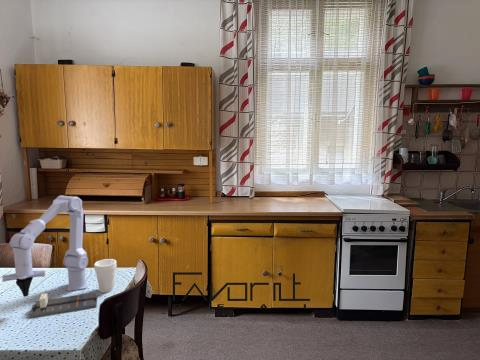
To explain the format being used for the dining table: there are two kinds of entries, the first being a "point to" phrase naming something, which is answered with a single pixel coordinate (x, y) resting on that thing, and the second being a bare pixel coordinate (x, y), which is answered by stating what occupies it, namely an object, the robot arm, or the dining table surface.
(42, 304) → the block
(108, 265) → the foam cup
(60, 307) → the console
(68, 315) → the dining table surface
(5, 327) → the dining table surface
